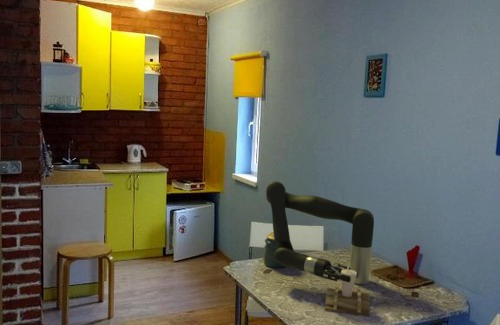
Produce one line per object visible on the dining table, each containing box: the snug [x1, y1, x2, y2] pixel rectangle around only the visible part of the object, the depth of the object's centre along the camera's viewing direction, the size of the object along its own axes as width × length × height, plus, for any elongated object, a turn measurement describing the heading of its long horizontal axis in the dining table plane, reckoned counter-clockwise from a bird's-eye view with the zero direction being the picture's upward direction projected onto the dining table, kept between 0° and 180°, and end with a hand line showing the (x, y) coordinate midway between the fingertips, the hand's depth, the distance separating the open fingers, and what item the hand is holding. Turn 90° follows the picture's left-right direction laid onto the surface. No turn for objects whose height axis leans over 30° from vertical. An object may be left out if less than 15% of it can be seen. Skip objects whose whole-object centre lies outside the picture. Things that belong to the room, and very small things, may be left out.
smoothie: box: [341, 260, 357, 297], centre depth 194 cm, size 6×6×14 cm
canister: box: [263, 232, 287, 269], centre depth 239 cm, size 13×13×18 cm
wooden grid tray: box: [324, 285, 371, 317], centre depth 195 cm, size 17×17×4 cm
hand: (353, 277), depth 193 cm, fingers closed on smoothie, 6 cm apart
